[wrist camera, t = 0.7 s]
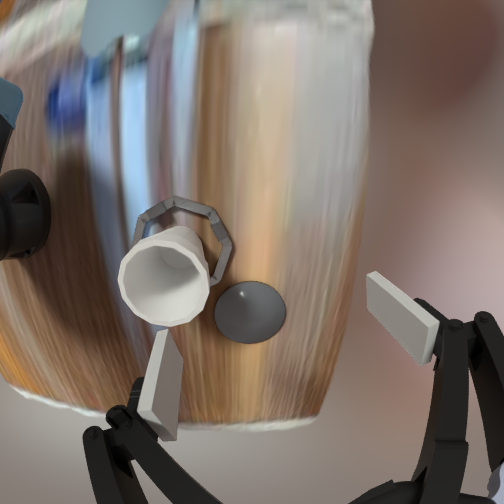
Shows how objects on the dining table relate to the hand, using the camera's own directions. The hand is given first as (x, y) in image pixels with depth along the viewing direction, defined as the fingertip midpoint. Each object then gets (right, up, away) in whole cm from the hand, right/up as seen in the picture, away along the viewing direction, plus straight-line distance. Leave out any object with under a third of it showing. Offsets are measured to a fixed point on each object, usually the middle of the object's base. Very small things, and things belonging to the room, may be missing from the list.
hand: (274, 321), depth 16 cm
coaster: (-2, -5, +26) cm, 26 cm away
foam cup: (-12, +5, +21) cm, 25 cm away
